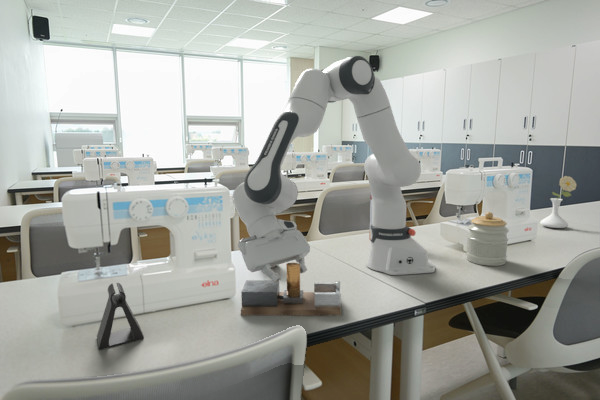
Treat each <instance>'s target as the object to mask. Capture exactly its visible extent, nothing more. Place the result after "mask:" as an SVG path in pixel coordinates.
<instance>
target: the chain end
mask: <svg viewBox="0 0 600 400" xmlns="http://www.w3.org/2000/svg"><path fill="white" fill-rule="evenodd" d="M303 292H304V290H301V273H300V264H299V262H287V263H286V290H284V295H280V296H279V297H278V298H279V299H283V303H298V304H303Z"/></svg>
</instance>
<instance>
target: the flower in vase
mask: <svg viewBox="0 0 600 400" xmlns="http://www.w3.org/2000/svg"><path fill="white" fill-rule="evenodd" d="M558 185H559V186H560V188H561V189H562V191H561V192H560V194H559V193H556V192H554V191H552V192H551V193H552V195H553V196H556V197H554V198H553V197H551V198H550V201H551V203H552V211H551V213H550V215H548V216H546V217H545V218H543V219H541V220H540V222H539V223H540V224H541V225H542V226H543V227H547V228H552V229H564V228H568V227H569V224H568V222H567V221H566V220H565V219H564V218H562V216H561V215H560V214H559V207H560V204H561V202H562V201H563V198H560V197H561V196H562V195H563V196H564V197H566V198H567V197H568V198H569V197H571V196H573V195H572V194H571V192H572V191H574V190H577V189H576V187H577V186H578V185H577V182H576V180H575V179H574V178H573V177H571V176H570V175H569V176H567V175H565V176H563V177H561V178H560V179H559V184H558Z"/></svg>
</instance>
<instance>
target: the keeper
mask: <svg viewBox="0 0 600 400" xmlns="http://www.w3.org/2000/svg"><path fill="white" fill-rule="evenodd" d="M313 285H314V286H313V287H314V288H313V289H314V291H313V292H314V296H315V307H341V304H342V302H341V300H342V299H341V295H342V294H341V281H339V280H336V281H327V282H326V281H314V284H313Z"/></svg>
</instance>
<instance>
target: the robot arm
mask: <svg viewBox="0 0 600 400" xmlns="http://www.w3.org/2000/svg"><path fill="white" fill-rule="evenodd" d="M347 99H348V100H349V101H350V102H351V103H352V105H353V110H354V112H355V116H356V119H357V123H358V125H359V129H360V132H361V136H362V138H363V141H364V143H366V145H367V146H368V148H369V149H370V151H371V152H372V153H371V154H369V155H368V156H367V158H366V159H365V162H364V165H363V167H364V169H363V170H364V173H365V174H366V176H367V179H368V183H369V188H370V195H371V196H372V225H371V229H370V228H369V234H370V239H369V241H370V248H369V254H368V258H367V261H366V264H365V265H366V266H367V268H368V269H371V270H373V271H377V272H381V273H385V274H387V275H391V276H402V275H416V274H429V273H430V274H431V273H434V272H435V271H436V265H435V264H434V263H433V262H432V261H431V260H430V259H429V257H428V256H429V255H428V252H427V250H426V249H425V247H424V246H422V245H421V244H420V242H418V241H416V240H415V239H414V238H413V237H414V236H415V235H416V230H414V229H413V228H411V227H410V226H407V202H406V199H405V198H404V196H403V193H402V188H405V187H409V186H410V187H411V186H413V184H416V182H417V181H418V180H419V178H420V176H421V173H422V172H421V171H422V167H421V164H420V161H419V160H418V159H417V158H416V157H415V155H413V154H412V152H411V151H410V149H409V147H408V146H407V144H406V143H405V141H404V139H403V137H402V135H401V133H400V131H399V128H398V126H397V123H396V120H395V116H394V113H393V110H392V106H391V103H390V100H389V97H388V95H387V92H386V90H385V88H384V85H383V83H382V81H381V80H380V78H378V77H377V76H375V73H374V69H373V67H372V65H371V64H370V62H369V61H368V60H367V58H365V57H364V56H361V55H351V56H348V57H345V58H344V59H343V58H342V59H340V60H337V61H335V62H333V63H331V64H330V65H329V66H328V67H326V68H323V69H321V70H320V69H317V68H307V69H305V70H304V71H303V72H301V74H300V75H299V76H298V78H297V80H296V81H295V84H294V85H293V88H292V91H291V92H290V96H289V98H288V100H287V104H286V107H285V108H284V111H283V112H282V113H281V114H280V115H279V116H278V117H277V119H276V120H275V122H274V123H273V127H272V128H271V130H270V132H269V134H268V137H267V139H266V141H265V143H264V145H263V148H262V149H261V152H260V154H259V155H258V156H259V157H258V158H257V160H256V161H255V163H254V164H253V165H252V166H251V168H249V170H248V171H247V173H246V176H245V178H244V181H243V182H241V183H240V184H239V185H238V186H237V187H236V188H235V189H234V190H233V193H232V202H233V204H235V205H234V208H235V210H236V212H237V214H238V216H239V218H240V220H241V221H242V222H243V223H244V225H245V227H246V231H247V233H248V235H249V237H244V238H241V239H240V240H239V241H238V243H237V246H238V247H237V248H238V249H239V252H241V255H242V259H243V262H244V264H245V266H246V268H247V270H248V271H249V272H251V273H255V272H258V271H262V272H263V274H264V275H266V276H267V277H269V278H270V279H271V280H272V281H273V282H277V281H279V282H280V280H281V278H282V277H281V275H280V274H279V272H275V271H274V270H273V269H272V268H271V267H272V266H275V265H276V266H279V265H282V264H285V263H286V264H287V263H290V262H291V261H295V263H299V264H300V274H304V273H306V272H307V271H308V268H307V266H306V265H305V264H306V263H305V257H307V256H308V254H309V253H310V252H311V246H310V243H309V242H308V241H307V239H306V237H305V236H304V235H303V233H302V232H301V230H298V229H297V228H298V227H297V226H298V225H297V224H296V222H294V221H291V220H283V219H280V218H277V217H276V215H279V214H281V213H283V212H284V211H286V210H288V209H291V208H292V206H293V205H294V204H295V203H296V202H297V199H298V195H299V190H298V187H297V184H296V183H295V182H294V181H293V180H291V179H290V178H288V177H287V176H286V175H284V174H283V173H282V165H283V163H284V161H285V157H286V156H287V153H288V151H289V149H290V147H291V144H292V143H293V141H295V139H297V138H306V137H309V136H312V135H314V134H315V133H317V131H318V129H320V126H321V124H322V122H323V119H324V116H325V114H326V109H327V106H328V103H331V104H332V103H336V102H340V101H343V100H347ZM233 198H234V200H233ZM276 266H275V267H276Z"/></svg>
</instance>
